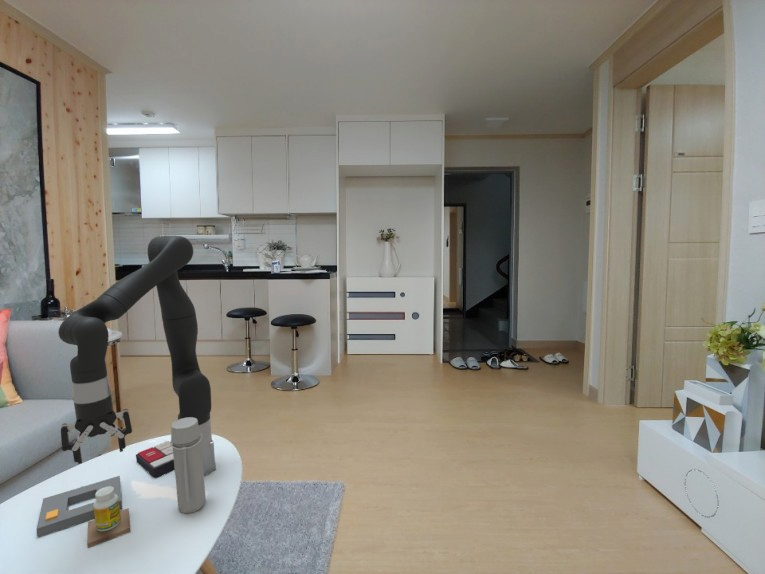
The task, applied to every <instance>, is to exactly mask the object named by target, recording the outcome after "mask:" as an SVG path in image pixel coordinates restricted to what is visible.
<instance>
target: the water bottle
mask: <svg viewBox="0 0 765 574" xmlns="http://www.w3.org/2000/svg"><path fill="white" fill-rule="evenodd" d="M170 425H171V427H170V429H171V431H170V432H171V433H170V445H171V447H173V456H174V467H175V470H174V475H175V488H176V497H177V507H178V511H179V512H180V513H183V514H192V513H193V512H197V511H199V510H201V509H202V508H203V507H204V505H205V503H206V501H207V498H206V487H205V486H206V485H205V476H204V471H203V459H202V446H201V439H202V434H201V433H200V430H199V425H198V420H197V419H196V418H193V417H187V418H182V419H179V420H178V419H177V420H175V421H173V422H172V423H171V424H170Z"/></svg>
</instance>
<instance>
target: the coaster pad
mask: <svg viewBox="0 0 765 574" xmlns="http://www.w3.org/2000/svg"><path fill="white" fill-rule="evenodd" d="M129 510H130V509H129V508H128V507H127V508H124V509H121V510H120V516H121V521H120V523H119V524H118V525H117V526H116V527H114V528H113V529H111V530H108V531H103V532H101V531H98V530H97V528H96V522H95V519H91V520H88V521H87V533H86V535H87V538H86V546H87V549H89V548H92V547H94V546H97V545H99V544H103V543H104V542H108V541H110V540H113V539H116V538H118V537H121V536H123V535H126V534H128V533H131V532H132V531H131V521H130V511H129Z"/></svg>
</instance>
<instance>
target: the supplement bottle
mask: <svg viewBox="0 0 765 574" xmlns="http://www.w3.org/2000/svg"><path fill="white" fill-rule="evenodd" d="M94 499H95V500H94V504H93V508H94V515H95V518H94V520H95V522H96V528H97V530H98V531H101V532H103V531H108V530H111V529H113V528H114V527H116V526H117V525H118V524H119V523H120V521H121V516H120V511H121V510H120V507H119V499H118V495H117V494H115V491H114V487H111V486H109V487H104V488H102V489H100V490H98V491H97V492H96V494H95V498H94Z"/></svg>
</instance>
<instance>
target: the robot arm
mask: <svg viewBox="0 0 765 574" xmlns="http://www.w3.org/2000/svg"><path fill="white" fill-rule="evenodd" d="M193 247H194V246H193V244H192V242H191V241H190V240H189V239H188V238H186V237H184V236H180V235H164V236H162V235H161V236H160V235H159V236H155V237H154V238H152V239H151V240H150V241H149V243H148V246H147V257H148V263H147V264H145V265H144V266H142V267H140V268H139V269H136V270H135V271H133V272H131V273H130V274H128V275H126V276H123V278H121V279H119V280H117V281H116V282H115V283H113V284H112V285H111V286H110V287H108V288H107V290H105V291H104V292H102V294H101V295H99V296H98V297H97V298H96V299H95V300H93V301H91V302H89V303H88V304H87V303H86V305H84V306H82V307H80V308H79V309H77V310H76V311H74V312H72V313H71V314H70V315H68V316H66V318H65V319H64V320H63V321H62V323H61V324H60V325H59V327H58V337H59V339H60V340H61V341H62V342H64V343H66V344H68V345H72V346H77V353H76V354H77V355H76V356H73V358H71V360H70V362H69V368H70V369H69V371H70V376H71V385H72V386H71V387H72V388H71V391H72V401H73V406H74V412H75V419H76V421H75V422H74V423H62V424H61V427H60V439H61V449H62V451H63V452H67V451H72V455H73V461H74V463H77V464H78V465H81V464H82V463H83V458H82V451H81V445H82V444H83V443H84V441H85V440H86V438H87V437H89V438H94V437H96V436H101V435H105V434H107V433H110V434H111V435H114V436H115V437H117V441H118V448H119V453H122V452H124V450H125V449H126V447H127V446H126V439H125V438H126V436H127V435H129V434H132V433H133V427H132V423H131V418H130V413H129V412H130V411H129V409H128V408H124V409H123V410H122V411H119V412H115V411H114V405H113V398H112V388H111V385H110V384H111V382H110V380H109V377H108V370H107V369H108V368H107V362H106V357H107V351H108V344H109V330H108V327H107V325H106V323H107V322H111V321H115V320H118V319H120V318H121V317H123V316H124V315H125V314H126V313H127V312H128V311H129V310H130V309H131V308H132V307H133V306H135V304H136V303H137V302H139V301H140V299H142V298H143V297H144V296H145V295H147V294H148V293H149V292H150V291H151V290H152V289H154V288H155V287H156V290H157V296H158V300H159V306H160V307H159V308H160V312H161V313H160V315H161V321H162V324H163V325H162V327H163V331H164V335H165V339H166V343H167V349H168V351H169V352H168V353H169V355H170V361H171V374H172V375H171V376H172V377H171V378H172V379H171V380H172V389H173V392H174V393H175V394H176V396H177V397H178V405H179V407H178V408H179V413H178V415H177V420H179V419H182V418H187V417H193V418H196V419H197V420H198V425H199V430H200V433H201V434H202V439H201V446H202V459H203V471H204V477H205V476H207V475H209V474H210V473H212V472H213V471H215V470H216V458H215V455H216V454H215V444H214V440H213V438H212V437H213V436H212V435H213V434H212V423H211V421H212V420H211V411H212V390H211V389H212V388H211V382H210V381H209V379H208V377H207V376H205V374H203V373H202V371H201V369H200V365H199V362H198V358H197V342H198V341H197V340H198V334H199V333H198V332H199V329H198V320H197V313H196V308H195V306H194V303H193V301H192V300H191V299H190V297H189V296H188V293H187V292H186V291H185V289H184V288H183V286H182V284H181V282H180V279H179V275H178V271H179V270H180V269H182V268H183V267H184V266H186V265H187V264H188V263H190V261H191V260H192V258H193V256H194V248H193ZM117 419H120V421H124V427H125V428H123V429H121V427H119V426H118V425H117V424H115V422H116V420H117ZM74 429H75V430H77V431H78V432H79V433H78V435H77V436H76V438H75V439H74V441H73V442H70V439H69V437H70V436H69V434H71V433H73V430H74Z"/></svg>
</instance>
